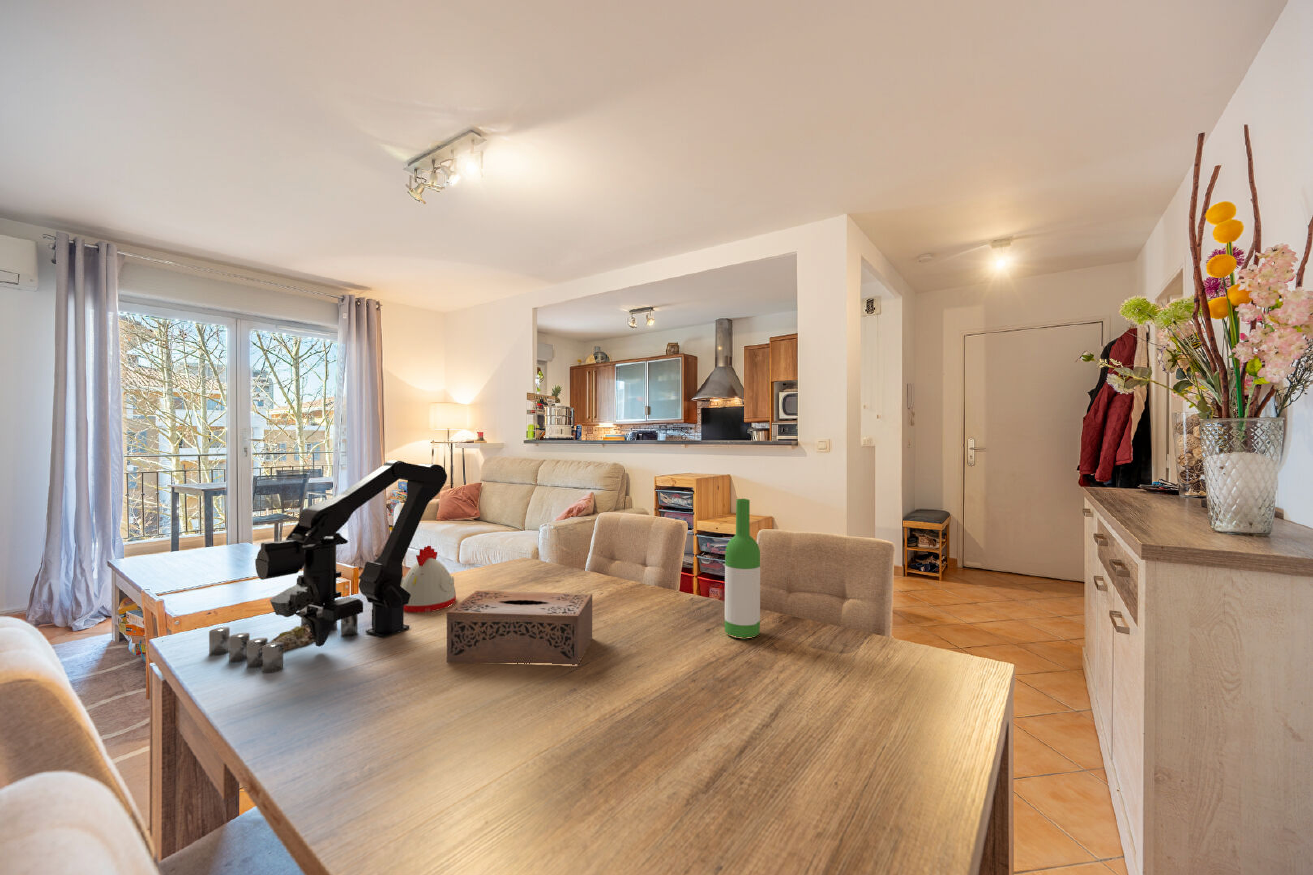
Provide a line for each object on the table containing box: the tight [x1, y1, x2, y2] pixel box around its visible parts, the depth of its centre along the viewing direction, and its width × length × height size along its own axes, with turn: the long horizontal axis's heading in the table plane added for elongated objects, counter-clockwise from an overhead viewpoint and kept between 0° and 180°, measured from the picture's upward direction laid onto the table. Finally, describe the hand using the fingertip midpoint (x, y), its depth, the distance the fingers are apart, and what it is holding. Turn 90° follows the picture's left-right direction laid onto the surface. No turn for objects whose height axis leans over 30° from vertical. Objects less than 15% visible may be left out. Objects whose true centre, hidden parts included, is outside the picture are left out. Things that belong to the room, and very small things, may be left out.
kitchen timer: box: [400, 545, 457, 613], centre depth 141 cm, size 14×14×15 cm
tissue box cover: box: [446, 590, 593, 665], centre depth 111 cm, size 26×14×10 cm, turn 86°
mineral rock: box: [268, 625, 315, 653], centre depth 114 cm, size 11×4×8 cm
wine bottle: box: [724, 498, 761, 638], centre depth 120 cm, size 8×8×30 cm
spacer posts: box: [208, 614, 359, 674], centre depth 113 cm, size 21×21×4 cm
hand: (320, 645), depth 110 cm, fingers closed
